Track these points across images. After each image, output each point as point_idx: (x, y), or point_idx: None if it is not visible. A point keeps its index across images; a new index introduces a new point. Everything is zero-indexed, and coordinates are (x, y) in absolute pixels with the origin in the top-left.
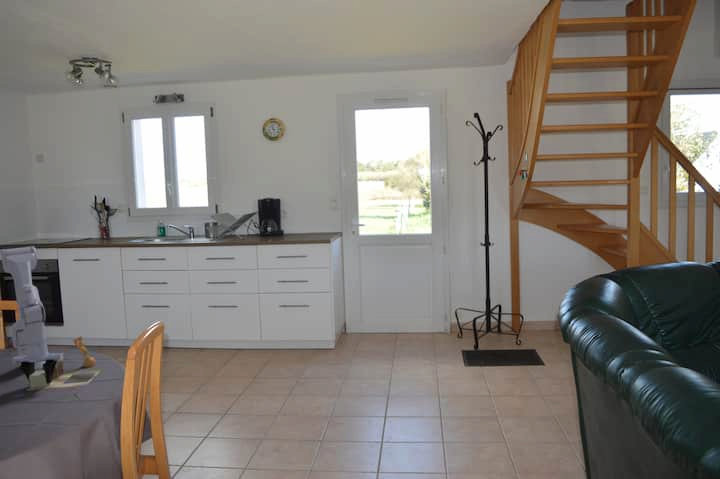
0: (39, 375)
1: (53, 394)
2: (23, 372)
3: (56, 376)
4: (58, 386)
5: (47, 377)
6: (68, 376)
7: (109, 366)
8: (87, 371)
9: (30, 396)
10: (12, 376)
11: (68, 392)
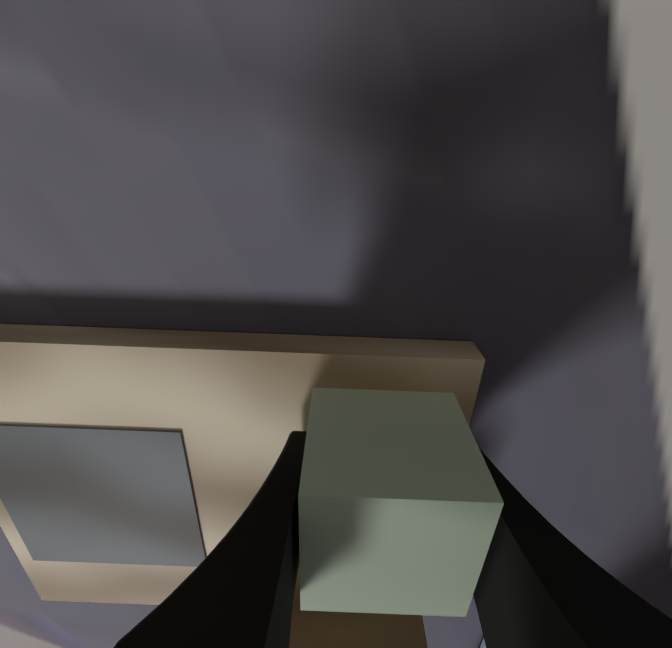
0: (363, 501)
1: (195, 268)
2: (616, 579)
3: None
4: (187, 377)
5: (281, 478)
6: None
7: (83, 633)
8: (127, 589)
9: (414, 271)
10: None
11: (66, 283)
